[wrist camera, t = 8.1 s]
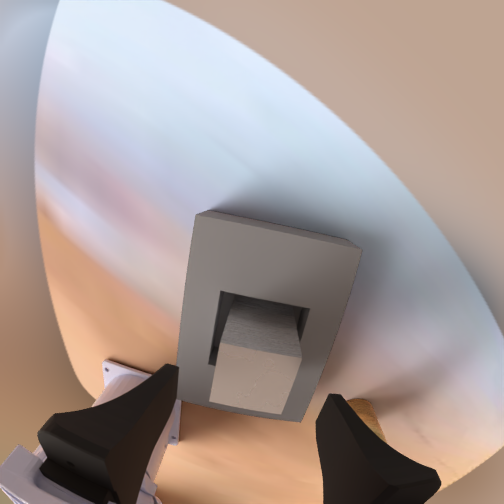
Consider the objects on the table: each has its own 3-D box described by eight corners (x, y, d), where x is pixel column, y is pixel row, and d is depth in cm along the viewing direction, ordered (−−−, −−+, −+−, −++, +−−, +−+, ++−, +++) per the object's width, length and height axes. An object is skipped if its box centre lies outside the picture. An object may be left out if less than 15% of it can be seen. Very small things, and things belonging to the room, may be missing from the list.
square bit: (278, 350, 21) (281, 414, 14) (225, 340, 21) (209, 401, 14) (292, 303, 20) (302, 358, 13) (235, 291, 20) (220, 342, 13)
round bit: (361, 429, 24) (377, 480, 17) (322, 428, 24) (332, 482, 17) (379, 399, 23) (402, 450, 16) (338, 397, 23) (354, 453, 16)
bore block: (297, 395, 23) (300, 422, 19) (184, 373, 23) (173, 398, 20) (347, 239, 20) (362, 250, 16) (207, 210, 20) (195, 214, 16)
